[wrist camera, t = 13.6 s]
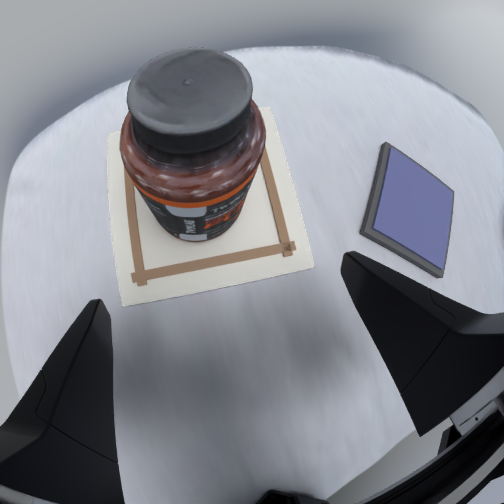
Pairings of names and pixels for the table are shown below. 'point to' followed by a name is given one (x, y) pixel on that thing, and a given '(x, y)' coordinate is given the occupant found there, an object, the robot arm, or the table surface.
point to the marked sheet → (212, 251)
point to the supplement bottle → (192, 140)
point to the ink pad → (409, 211)
